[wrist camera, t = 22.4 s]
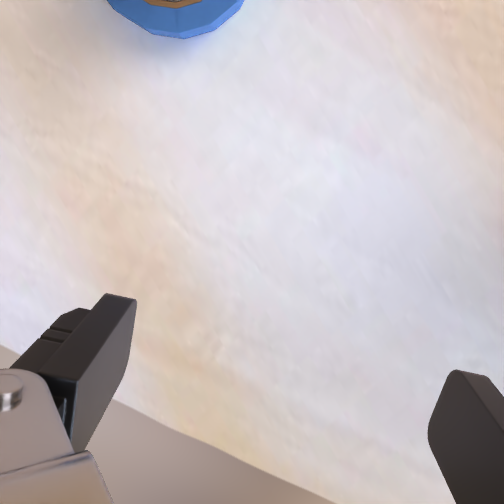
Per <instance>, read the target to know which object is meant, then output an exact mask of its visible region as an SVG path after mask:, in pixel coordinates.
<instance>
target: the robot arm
mask: <svg viewBox="0 0 504 504" xmlns="http://www.w3.org/2000/svg"><path fill="white" fill-rule="evenodd" d="M136 308H137V301H136V299H131V298H127V297H122V296H118V295H113V294H108V293H106V294H104V295H103V297H102V298H101V299H100V300H99V301H98V302H97V304H96V305H95V306H94V307H93V308H92V309H91V310H88V309H83V308H77V309H75V310H72V311H70V312H68V313H65V314H63V315H61V316H60V317H59V318H58V319H57V320H56V321H55V322H54V323H53V324H52V325H51V326H50V329H47V330H46V331H45V332H44V333H43V334H42V335H41V337H40V339H39V338H38V339H37V340H36V341H35V342H34V343H33V344H32V345H31V346H30V347H29V348H28V350H27V351H26V352H25V353H24V354H23V355H22V356H21V357H20V358H19V359H18V360H17V361H16V362H15V363H14V364H13V365H12V366H11V367H10V368H9V369H0V504H114V502H113V499H112V497H111V495H110V493H109V491H108V488H107V486H106V484H105V481H104V479H103V477H102V475H101V472H100V470H99V468H98V466H97V463H96V461H95V459H94V457H93V455H92V454H91V453H90V452H89V451H88V450H85V448H86V446H87V444H88V442H89V440H90V438H91V436H92V435H93V433H94V431H95V429H96V427H97V425H98V423H99V422H100V420H101V418H102V416H103V414H104V412H105V410H106V408H107V406H108V405H109V403H110V401H111V399H112V397H113V395H114V393H115V392H116V390H117V388H118V386H119V384H120V382H121V380H122V378H123V376H124V373H125V370H126V367H127V363H128V359H129V353H130V347H131V340H132V334H133V328H134V321H135V315H136ZM428 442H429V445H430V448H431V450H432V452H433V454H434V457H435V459H436V461H437V463H438V465H439V467H440V470H441V472H442V474H443V476H444V478H445V480H446V482H447V485H448V487H449V489H450V491H451V493H452V495H453V498H454V500H455V502H456V504H504V397H503V395H502V394H501V393H500V392H499V390H498V389H497V388H496V387H495V385H494V384H493V383H492V382H491V380H490V379H489V378H488V377H487V376H484V375H479V374H475V373H470V372H465V371H461V370H453V371H452V372H451V373H450V374H449V375H448V377H447V379H446V382H445V384H444V386H443V389H442V391H441V394H440V396H439V399H438V401H437V403H436V406H435V408H434V411H433V413H432V416H431V418H430V421H429V425H428Z"/></svg>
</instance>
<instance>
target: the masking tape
mask: <svg viewBox="0 0 504 504" xmlns="http://www.w3.org/2000/svg"><path fill="white" fill-rule="evenodd" d="M107 1H108V2H109V4H110V5H111V6H112V8H113V9H114V10H116V11H117V12H118V13H120V14H121V15H123V16H124V17H126V18H127V19H129V20H131V21H132V22H134V23H135V24H137V25H139V26H140V27H142V28H144V29H145V30H147V31H148V32H150V33H152V34H155V35H161V36H168V37H174V38H181V39H186V38H189V37H193V36H196V35H200V34H203V33H207V32H210V31H214V30H215V29H217V28H218V27H219V26H220V25H221V24H223V23H224V22H225V21H226V20H227V19H229V18H230V17H231V16H232V15H233V14H234V13H236V12H237V11H238V10H239V9H240V8H241V6H242V4H243V2H244V0H182V1H178V2H170V1H164V0H107Z"/></svg>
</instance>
